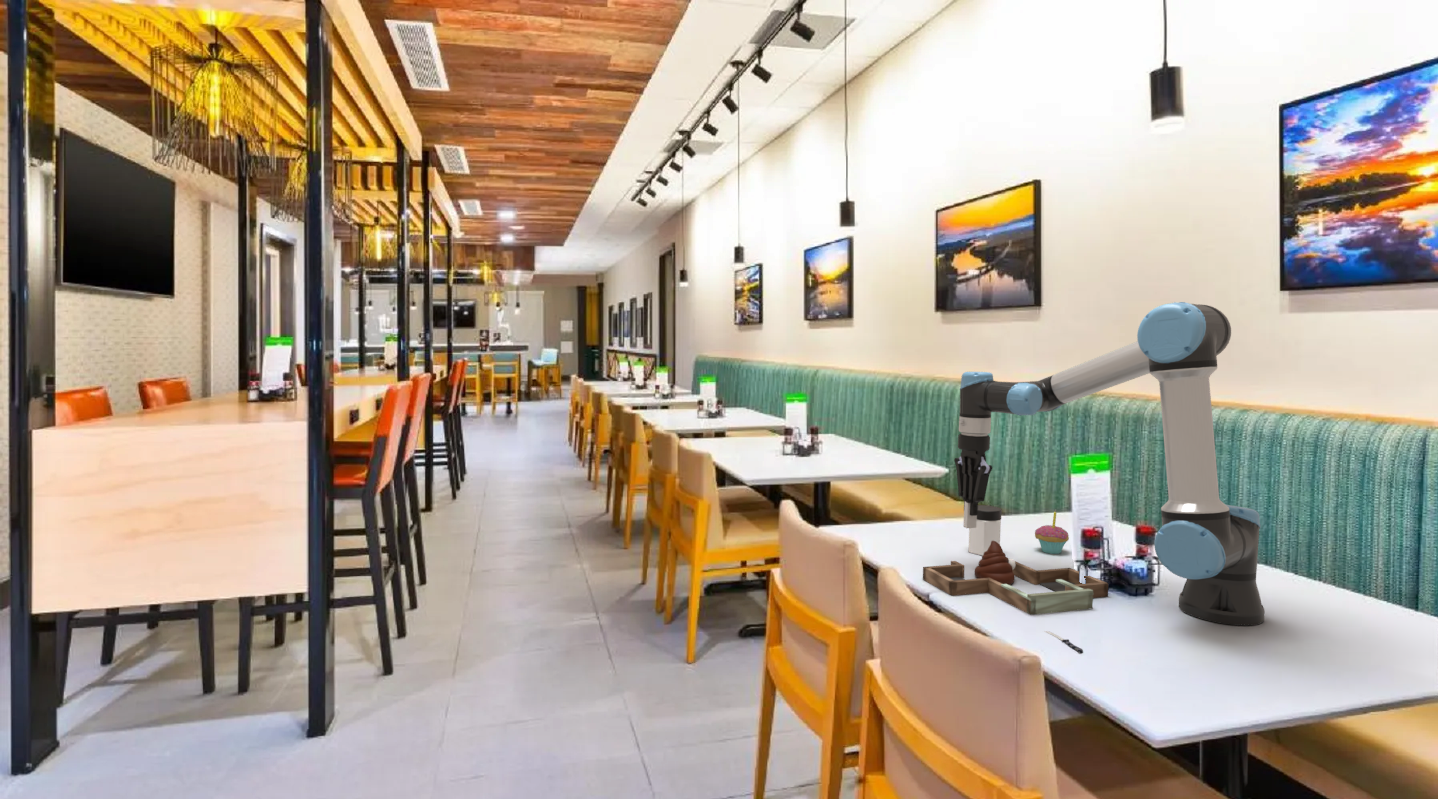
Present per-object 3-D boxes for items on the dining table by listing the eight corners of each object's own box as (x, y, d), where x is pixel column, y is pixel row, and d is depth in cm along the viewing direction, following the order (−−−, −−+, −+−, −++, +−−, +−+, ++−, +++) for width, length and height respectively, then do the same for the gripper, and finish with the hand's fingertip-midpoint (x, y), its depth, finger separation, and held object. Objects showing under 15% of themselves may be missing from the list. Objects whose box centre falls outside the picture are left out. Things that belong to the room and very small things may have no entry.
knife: (1090, 654, 142) (1090, 649, 142) (1078, 655, 142) (1078, 650, 142) (1023, 618, 161) (1023, 613, 161) (1013, 619, 160) (1013, 614, 160)
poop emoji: (966, 575, 189) (967, 537, 189) (996, 572, 192) (997, 535, 191) (992, 588, 180) (994, 548, 179) (1023, 585, 182) (1025, 545, 182)
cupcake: (1073, 556, 207) (1075, 511, 206) (1041, 555, 207) (1043, 511, 206) (1060, 547, 215) (1061, 504, 215) (1029, 547, 216) (1030, 504, 215)
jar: (1007, 553, 209) (1009, 508, 209) (990, 558, 204) (992, 513, 203) (977, 546, 216) (979, 503, 215) (960, 550, 211) (962, 507, 210)
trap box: (1127, 605, 168) (1128, 587, 168) (991, 618, 159) (992, 599, 159) (1036, 566, 197) (1036, 550, 197) (916, 575, 188) (917, 559, 188)
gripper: (946, 430, 199) (942, 521, 201) (976, 437, 186) (971, 534, 188) (972, 430, 201) (968, 520, 203) (1003, 437, 188) (998, 533, 190)
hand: (969, 527), depth 196 cm, fingers closed
